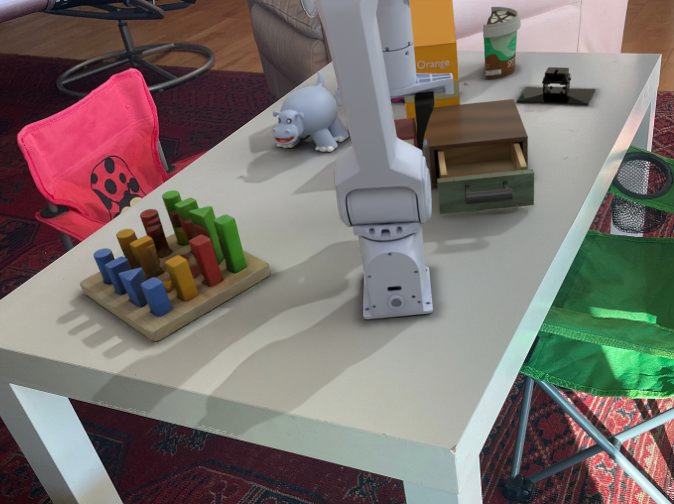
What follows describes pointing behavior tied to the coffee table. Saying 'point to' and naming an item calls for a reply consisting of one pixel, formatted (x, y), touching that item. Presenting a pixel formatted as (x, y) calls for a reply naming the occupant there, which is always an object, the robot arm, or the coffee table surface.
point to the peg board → (173, 269)
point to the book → (406, 130)
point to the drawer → (483, 178)
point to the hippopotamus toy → (309, 118)
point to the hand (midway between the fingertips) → (401, 152)
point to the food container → (500, 42)
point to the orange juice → (434, 47)
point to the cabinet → (473, 128)
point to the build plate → (556, 90)
